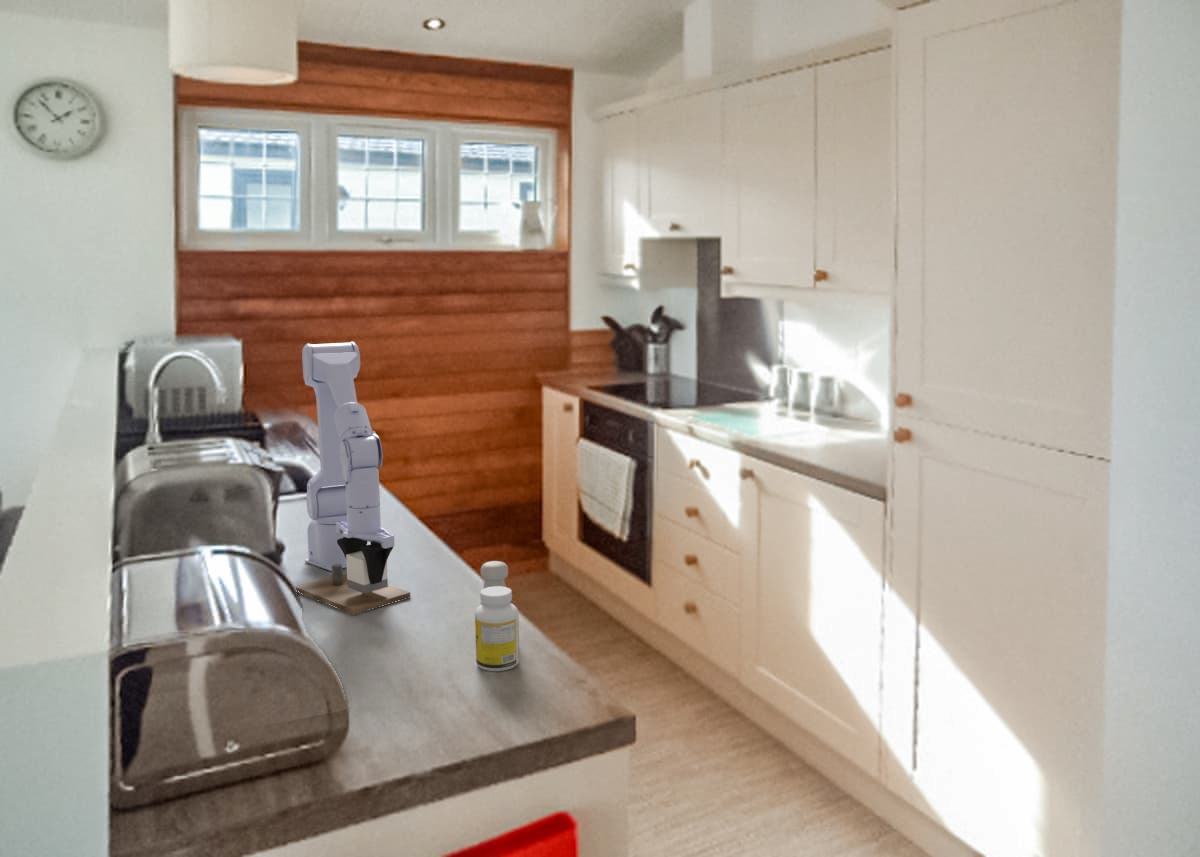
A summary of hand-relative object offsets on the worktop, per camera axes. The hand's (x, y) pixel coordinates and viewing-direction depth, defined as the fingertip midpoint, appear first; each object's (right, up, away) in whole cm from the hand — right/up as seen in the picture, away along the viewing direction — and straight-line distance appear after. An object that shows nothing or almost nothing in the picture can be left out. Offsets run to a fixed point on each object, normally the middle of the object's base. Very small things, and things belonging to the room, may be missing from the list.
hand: (366, 579), depth 190 cm
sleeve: (0, -1, 0) cm, 1 cm away
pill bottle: (+26, -9, -28) cm, 39 cm away
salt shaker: (+25, -8, -19) cm, 32 cm away
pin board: (-3, -3, +4) cm, 6 cm away
